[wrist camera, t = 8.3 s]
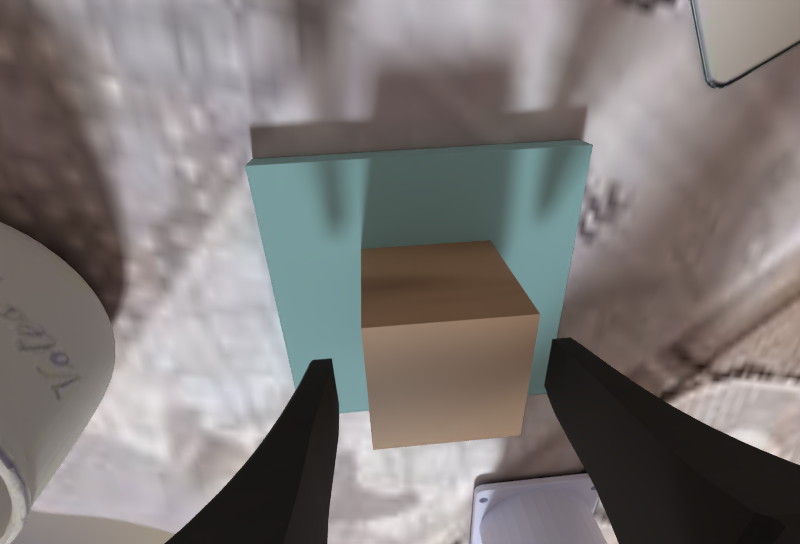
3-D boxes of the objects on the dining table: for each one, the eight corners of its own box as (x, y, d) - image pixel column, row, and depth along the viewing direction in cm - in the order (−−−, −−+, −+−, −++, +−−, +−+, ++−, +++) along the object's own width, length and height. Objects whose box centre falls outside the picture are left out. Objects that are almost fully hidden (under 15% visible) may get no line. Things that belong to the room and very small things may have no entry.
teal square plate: (538, 379, 21) (546, 393, 20) (304, 400, 20) (301, 417, 19) (579, 139, 15) (592, 144, 14) (252, 158, 14) (245, 165, 14)
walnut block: (481, 342, 18) (520, 435, 14) (369, 351, 18) (373, 449, 13) (490, 240, 16) (540, 314, 11) (360, 249, 15) (361, 328, 11)
